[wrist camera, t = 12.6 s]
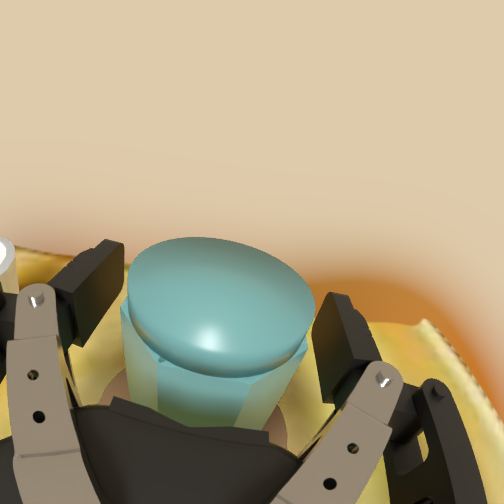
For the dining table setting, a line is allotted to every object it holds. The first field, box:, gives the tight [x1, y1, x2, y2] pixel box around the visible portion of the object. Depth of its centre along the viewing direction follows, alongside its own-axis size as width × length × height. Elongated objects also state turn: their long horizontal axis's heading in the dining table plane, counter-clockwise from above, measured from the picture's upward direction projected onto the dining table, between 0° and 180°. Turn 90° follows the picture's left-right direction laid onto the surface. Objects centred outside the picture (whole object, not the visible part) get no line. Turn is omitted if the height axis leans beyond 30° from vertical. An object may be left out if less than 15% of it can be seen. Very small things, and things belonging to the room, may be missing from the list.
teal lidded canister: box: [120, 237, 315, 430], centre depth 10 cm, size 6×6×9 cm
